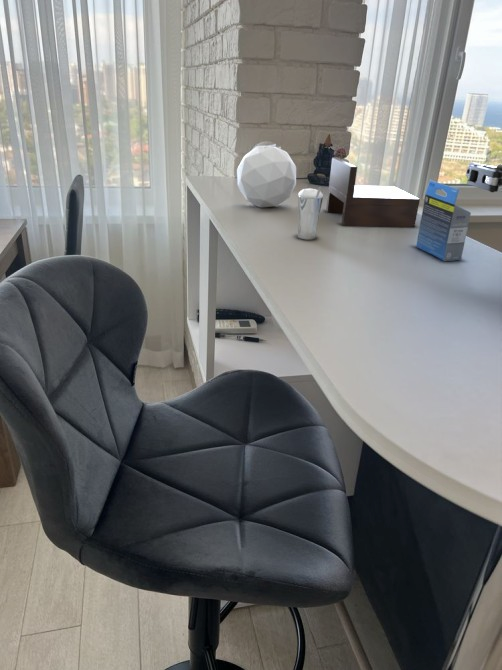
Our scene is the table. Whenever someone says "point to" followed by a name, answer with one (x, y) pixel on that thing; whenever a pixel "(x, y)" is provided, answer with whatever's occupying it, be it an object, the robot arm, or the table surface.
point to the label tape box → (442, 223)
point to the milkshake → (309, 212)
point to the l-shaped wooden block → (368, 200)
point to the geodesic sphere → (266, 176)
